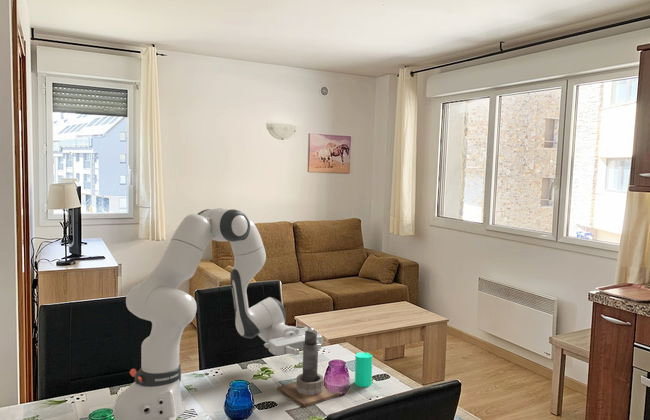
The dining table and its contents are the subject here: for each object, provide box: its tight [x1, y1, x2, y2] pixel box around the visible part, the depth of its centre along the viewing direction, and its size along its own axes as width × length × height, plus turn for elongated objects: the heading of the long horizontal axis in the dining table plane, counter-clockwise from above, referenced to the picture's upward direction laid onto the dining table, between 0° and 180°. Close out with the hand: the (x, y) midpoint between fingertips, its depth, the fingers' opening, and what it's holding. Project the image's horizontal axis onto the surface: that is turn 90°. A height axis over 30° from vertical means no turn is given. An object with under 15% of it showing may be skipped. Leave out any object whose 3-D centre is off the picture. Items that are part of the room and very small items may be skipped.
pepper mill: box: [302, 327, 319, 382], centre depth 170 cm, size 5×5×21 cm
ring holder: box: [276, 373, 340, 408], centre depth 171 cm, size 16×16×5 cm
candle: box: [354, 352, 373, 388], centre depth 179 cm, size 6×6×12 cm
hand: (308, 349), depth 171 cm, fingers open, 8 cm apart
